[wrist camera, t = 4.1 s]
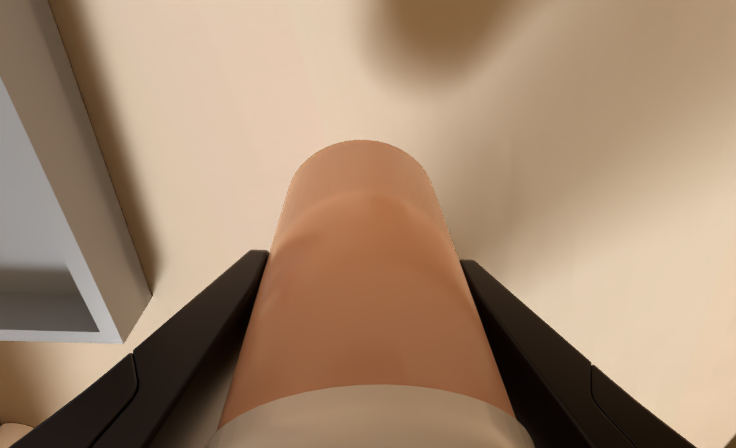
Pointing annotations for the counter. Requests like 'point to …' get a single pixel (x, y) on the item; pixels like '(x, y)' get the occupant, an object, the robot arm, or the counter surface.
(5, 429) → the vase
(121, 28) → the counter surface
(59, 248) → the tray
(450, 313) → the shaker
